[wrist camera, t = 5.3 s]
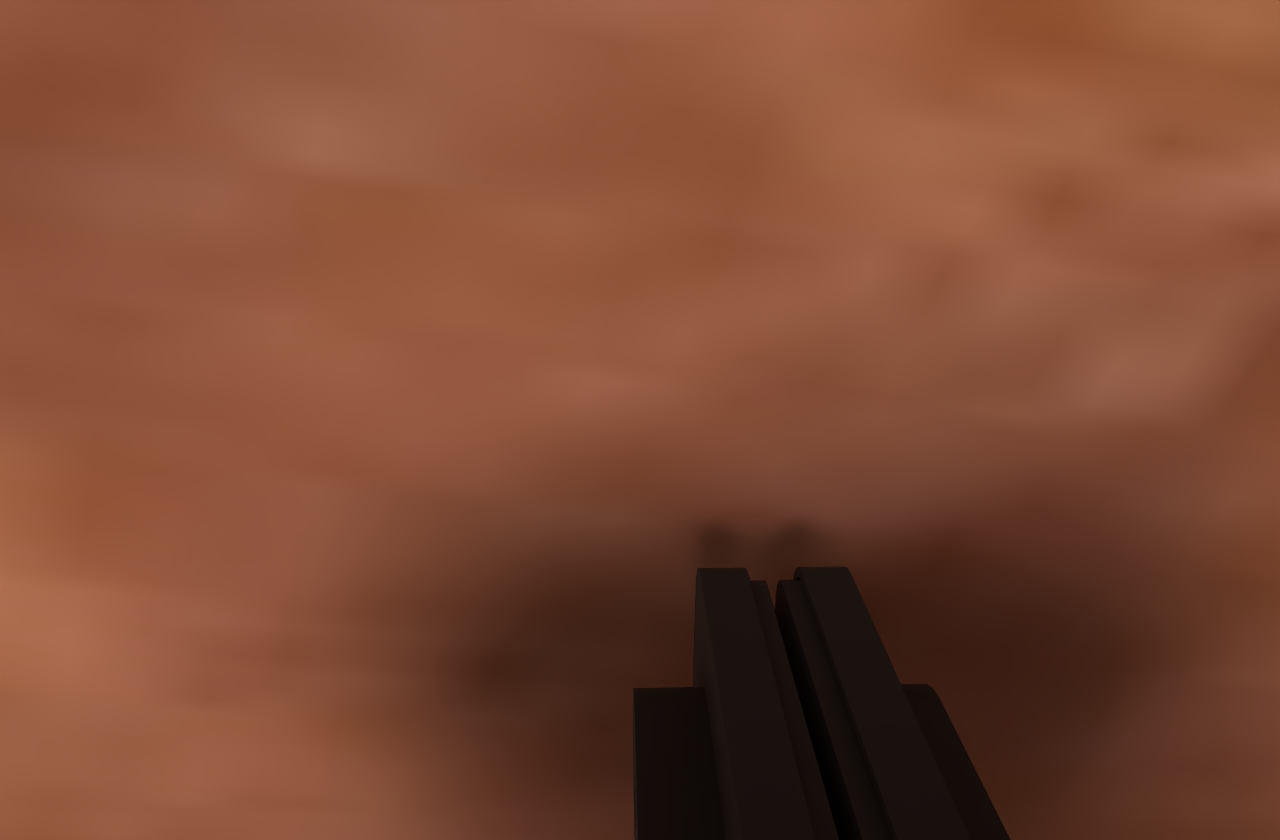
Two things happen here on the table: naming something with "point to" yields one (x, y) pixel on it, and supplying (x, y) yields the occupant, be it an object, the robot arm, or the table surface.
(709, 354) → the table surface
